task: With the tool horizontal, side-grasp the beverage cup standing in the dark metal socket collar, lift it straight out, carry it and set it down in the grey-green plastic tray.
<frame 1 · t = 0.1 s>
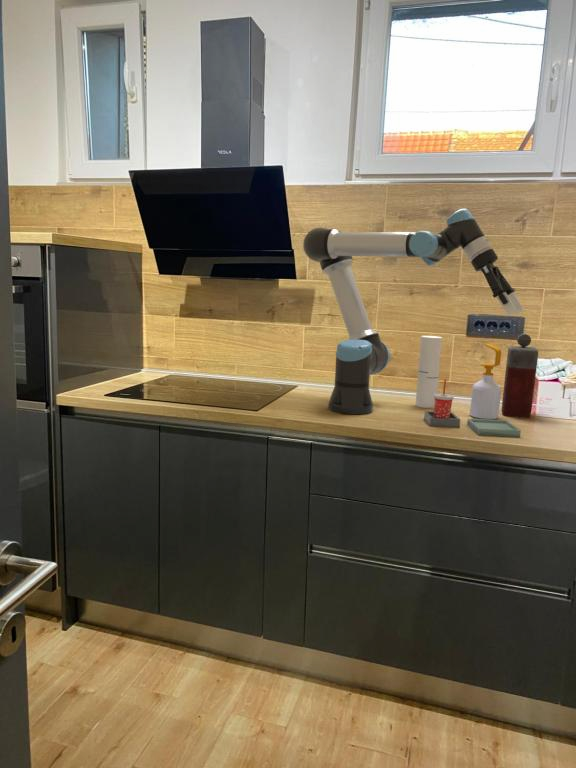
hand: (516, 312, 175), 36 cm above the countertop, tool tilted 35°, fingers open, 13 cm apart
soap bottle: (483, 417, 192), on the countertop
socket collar: (441, 422, 181), on the countertop
dark red bottle: (515, 414, 198), on the countertop
beverage cup: (441, 423, 181), resting in socket collar
cylindrical container: (425, 406, 205), on the countertop
tray: (492, 430, 173), on the countertop
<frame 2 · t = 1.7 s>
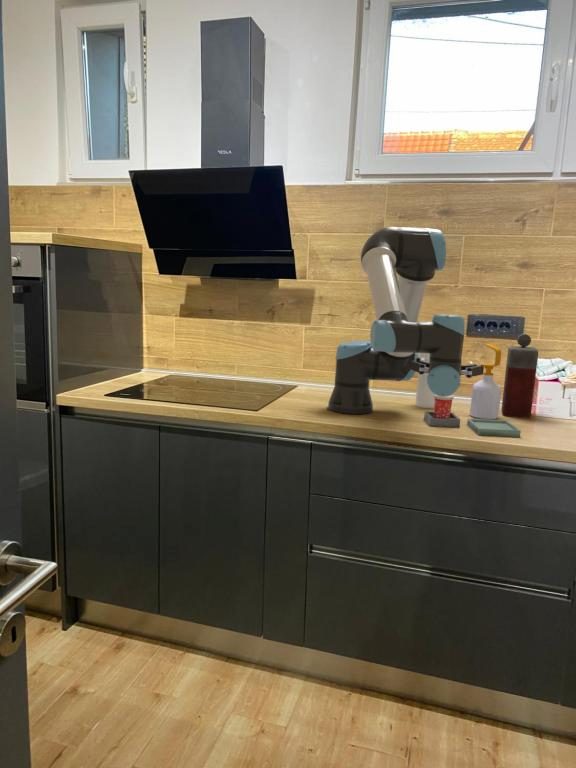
hand: (446, 364, 168), 20 cm above the countertop, tool horizontal, fingers open, 13 cm apart
nothing on the countertop moved.
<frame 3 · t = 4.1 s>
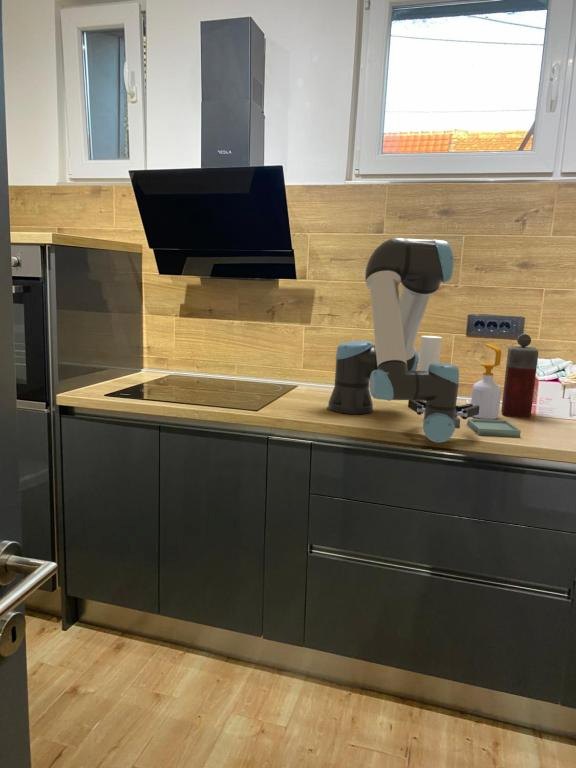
hand: (444, 401, 175), 8 cm above the countertop, tool horizontal, fingers open, 13 cm apart
nothing on the countertop moved.
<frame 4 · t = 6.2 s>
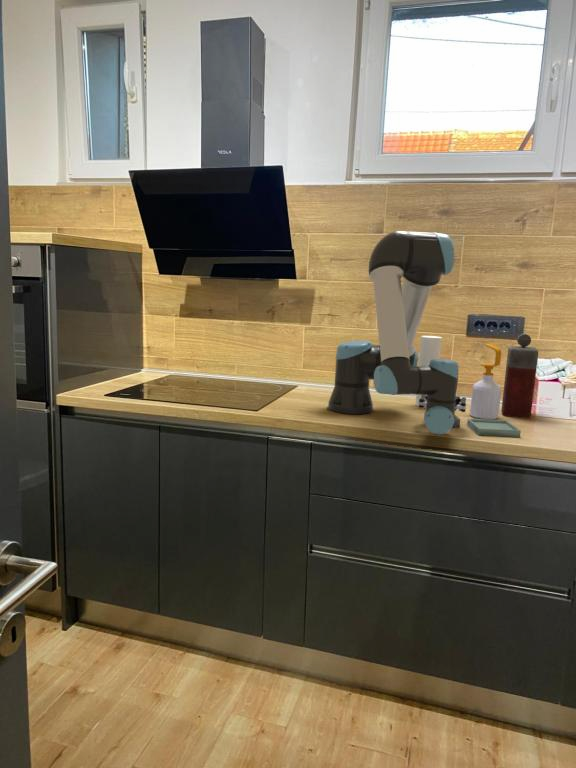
hand: (444, 395, 184), 8 cm above the countertop, tool horizontal, fingers closed on beverage cup, 6 cm apart
beverage cup: (441, 423, 181), resting in socket collar, touching gripper
everything else where it was.
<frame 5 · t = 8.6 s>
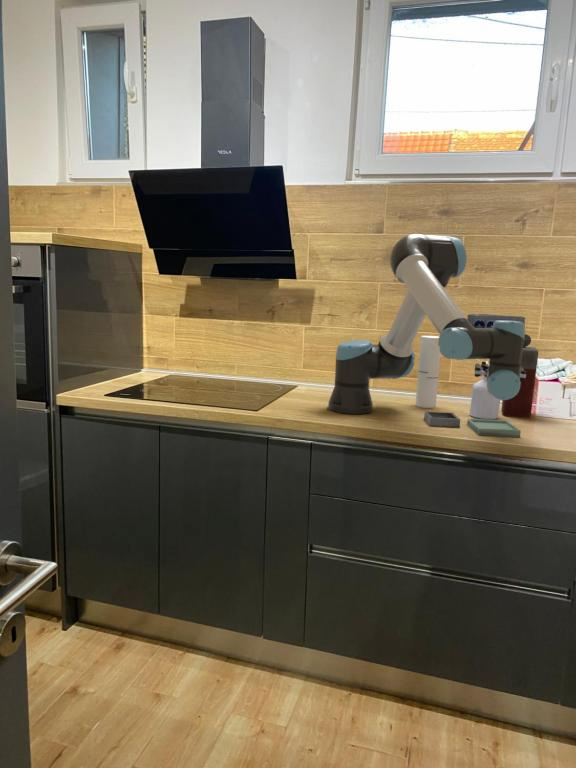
hand: (497, 366, 174), 19 cm above the countertop, tool horizontal, fingers closed on beverage cup, 6 cm apart
beverage cup: (495, 395, 171), point 11 cm above the countertop, touching gripper
everything else where it was.
when the fingers open (11 cm above the countertop, at t = 10.9 s): beverage cup drops 1 cm, resting on tray.
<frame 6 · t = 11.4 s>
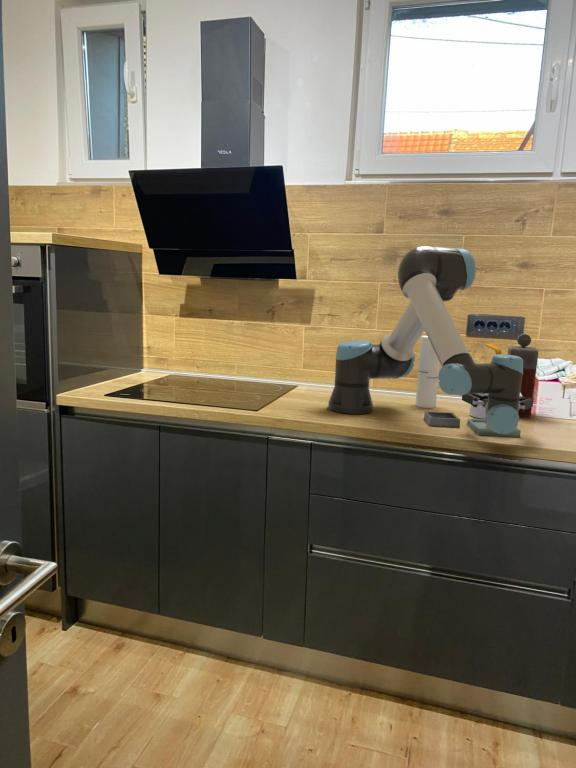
hand: (495, 394, 175), 11 cm above the countertop, tool horizontal, fingers open, 12 cm apart
beverage cup: (492, 427, 173), point 1 cm above the countertop, touching tray
everything else where it was.
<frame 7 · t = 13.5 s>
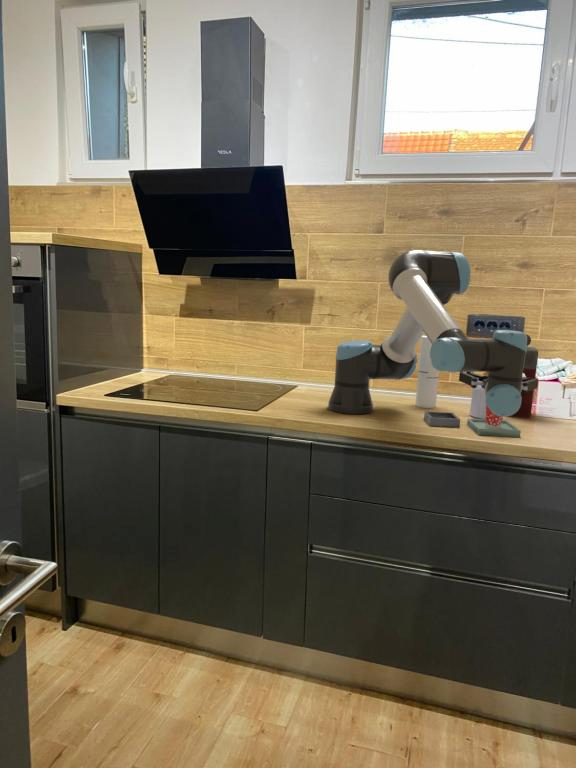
hand: (496, 375, 163), 18 cm above the countertop, tool horizontal, fingers open, 13 cm apart
nothing on the countertop moved.
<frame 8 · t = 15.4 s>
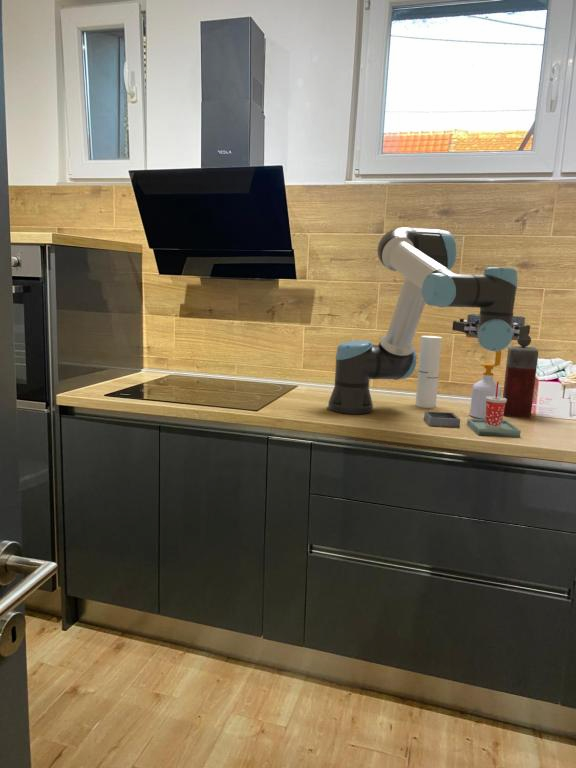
hand: (489, 325, 165), 32 cm above the countertop, tool horizontal, fingers open, 13 cm apart
nothing on the countertop moved.
at the end: beverage cup inside the target area on the tray (0.1 cm from its centre), point 1.0 cm above the tray's base; beverage cup tilted 0°; the gripper is holding nothing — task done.
